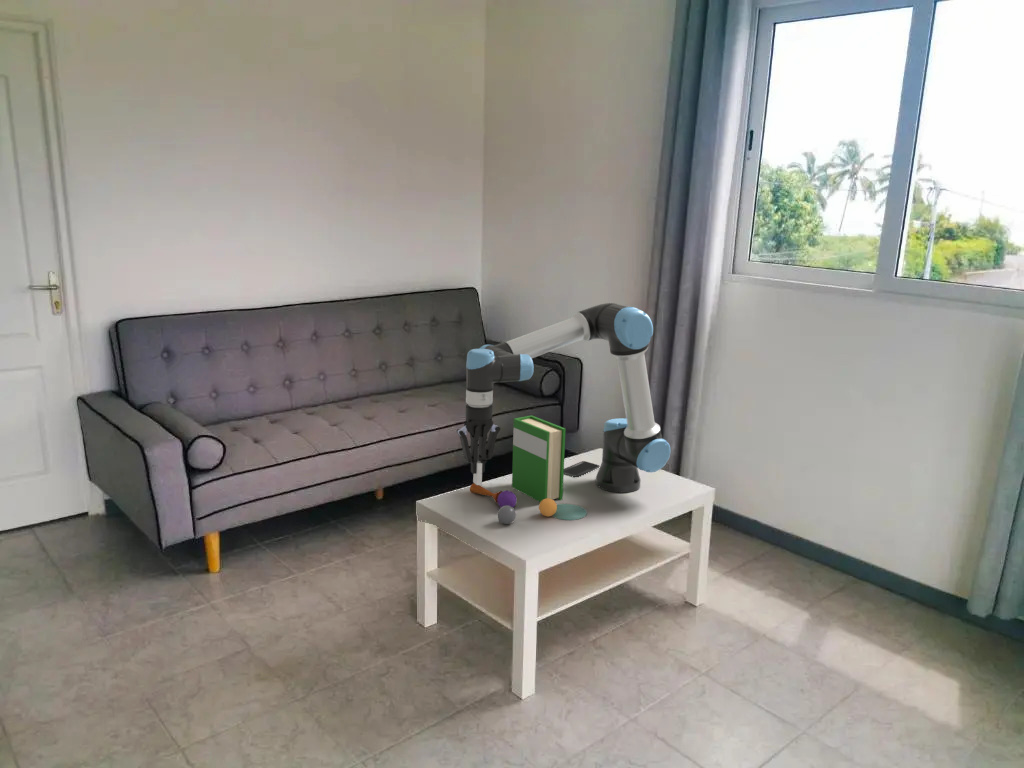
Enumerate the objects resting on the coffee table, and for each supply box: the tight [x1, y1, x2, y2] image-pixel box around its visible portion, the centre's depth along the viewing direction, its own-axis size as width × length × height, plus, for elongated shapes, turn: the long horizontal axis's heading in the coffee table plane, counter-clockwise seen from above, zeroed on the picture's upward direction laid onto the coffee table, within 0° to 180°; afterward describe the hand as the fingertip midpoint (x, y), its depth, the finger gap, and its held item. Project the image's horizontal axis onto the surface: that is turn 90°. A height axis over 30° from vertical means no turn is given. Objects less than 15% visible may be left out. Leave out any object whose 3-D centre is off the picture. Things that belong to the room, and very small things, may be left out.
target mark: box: [551, 503, 588, 521], centre depth 233 cm, size 12×12×1 cm
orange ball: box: [538, 498, 558, 518], centre depth 229 cm, size 6×6×6 cm
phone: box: [564, 460, 601, 478], centre depth 270 cm, size 8×1×15 cm
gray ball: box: [497, 506, 517, 525], centre depth 223 cm, size 6×6×6 cm
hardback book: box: [511, 415, 567, 503], centre depth 245 cm, size 18×7×24 cm, turn 36°
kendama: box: [469, 482, 518, 508], centre depth 240 cm, size 6×6×20 cm
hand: (477, 483), depth 216 cm, fingers closed
